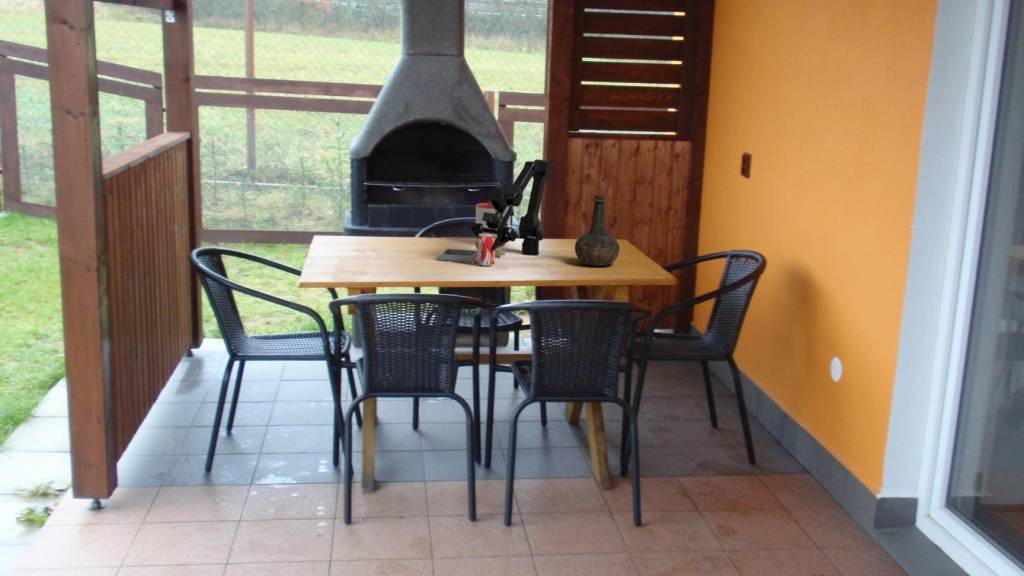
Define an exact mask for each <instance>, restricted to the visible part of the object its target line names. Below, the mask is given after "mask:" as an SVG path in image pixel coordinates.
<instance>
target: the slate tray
mask: <svg viewBox="0 0 1024 576" xmlns="http://www.w3.org/2000/svg"><path fill="white" fill-rule="evenodd" d="M476 259H477V250H472V249H469V250H468V249H460V248H459V249H457V248H455V249H454V248H446V249H445V250H444V251H442V252H441V253H440V254H439V262H449V261H454V262H453V263H455V262H456V263H464V262H474V261H475V260H476ZM476 261H477V260H476ZM476 261H475V262H476ZM475 262H474V263H475Z"/></svg>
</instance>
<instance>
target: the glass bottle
mask: <svg viewBox="0 0 1024 576" xmlns="http://www.w3.org/2000/svg"><path fill="white" fill-rule="evenodd" d="M593 197H594V198H592V199H591V200H592V202H593V210H592V219H591V224H590V229H589V232H587V233H586V234H583V235H580V236H579V237H578V238H577V240H576V241H575V245H574V253H575V255H576V257H577V258H578V260H579V262H581V263H582V264H583V265H584V266H585V265H586V266H590V267H606V266H607V267H608V266H609V265H611V264H613V263H614V262H615V261H616V260H617V259H618V257H619V254H620V244H619V241H618V240H617V239H616V238H615V237H613V236H612V235H610V234H609V232H608V228H607V222H606V221H607V220H606V219H607V218H606V202H607V200H606V197H607V196H606V195H605V194H601V193H599V194H593Z"/></svg>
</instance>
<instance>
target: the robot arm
mask: <svg viewBox="0 0 1024 576" xmlns="http://www.w3.org/2000/svg"><path fill="white" fill-rule="evenodd" d="M523 165H524V166H523V167H522V169H521V170H520V172H519V174H518V176H517V177H516V178H515V180H514V182H513V183H512V185H510V186H507V187H506V188H505V190H504V191H503V190H502V188H500V187H496V189H495V190H492V191H491V192H489V193H488V194H487V199H488V202H490V203H491V205H492V206H493V208H494V209H495V210H497V211H496V213H495V214H493V213H488V212H484V214H483V217H482V220H484V221H485V222H486V226H488V228H487V227H483V225H482V223H476V221H475V222H472V223H471V225H470V226H469V228H470V229H471V231H472V232H473V235H475V237H476V243H475V248H476V249H477V239H478V237H479V234H482V233H491V234H496V235H497V238H496V240H495V241H494V243H493V245H492V248H491V250H492V251H493V250H495V249H496V248H500V247H501V246H504V245H505V244H504V243H506V244H507V243H509V242H512V243H513V242H515V241H516V239H517V234H516V232H515V231H514V230H515V229H513V227H511V226H510V227H507V225H508V224H507V221H508V219H509V217H510V216H511V217H514V216H515V212H514V208H512V207H519V206H520V205H521V203H522V200H523V198H524V191H525V190H526V187H527V186H528V184H529V183H530V181H531V180H532V184H531V185H532V186H531V191H530V195H529V200H528V204H527V205H528V206H527V211H526V214H525V215H524V216H521V217H520V219H519V220H520V221H519V224H518V233H519V239H523V240H522V242H521V253H522V254H521V255H531V256H538V255H539V254H540V241H543V240H544V236H545V235H544V232H543V230H542V229H541V221H540V217H539V214H540V209H541V204H542V200H543V196H544V189H545V185H546V182H547V181H548V179H550V178H551V176H552V172H553V170H554V165H553V163H552V161H551V160H548V159H538V158H537V159H534V160H533V161H531V160H527V161H525V162H524V164H523ZM511 206H512V207H511ZM504 226H505V227H504ZM503 244H504V245H503Z"/></svg>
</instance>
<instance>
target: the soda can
mask: <svg viewBox="0 0 1024 576" xmlns="http://www.w3.org/2000/svg"><path fill="white" fill-rule="evenodd" d="M476 241H477V248H476V251H477V260H476V264H477V265H479V266H480V265H483V266H482V267H491V266H490V265H492V266H493V265H494V264H495V260H496V258H495V250H493V251H492V250H491V248H492V245H493V243H494V241H495V238H494V235H493V234H489V233H482V234H479V237H478V239H477V238H476Z"/></svg>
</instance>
